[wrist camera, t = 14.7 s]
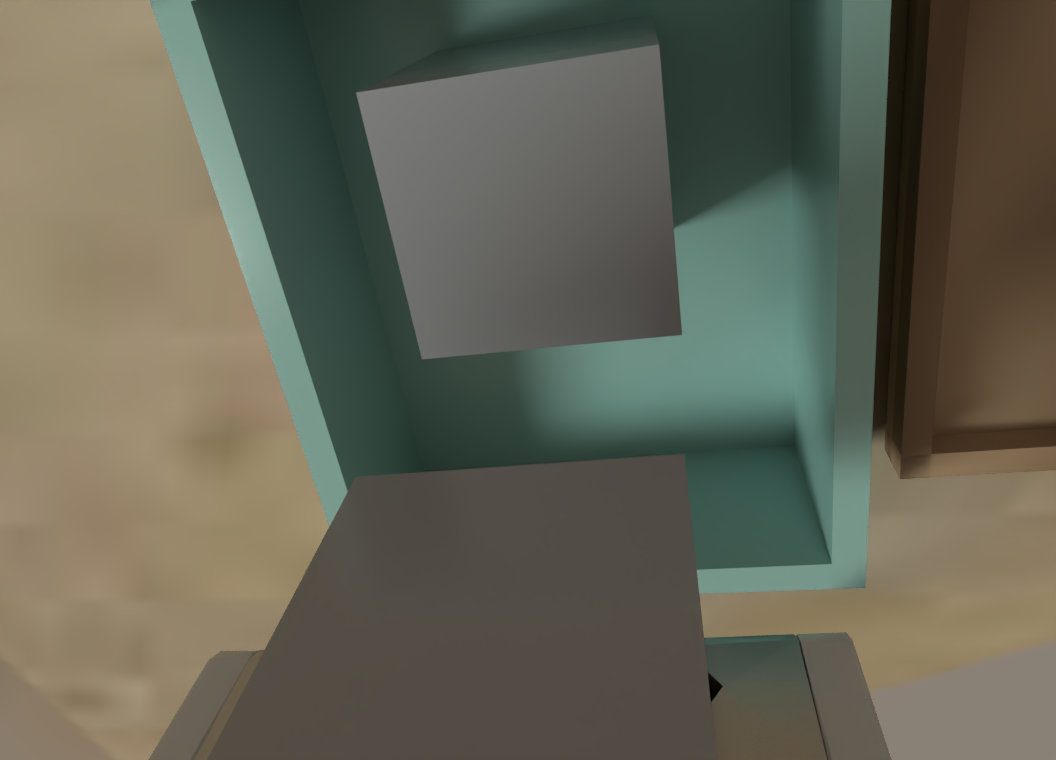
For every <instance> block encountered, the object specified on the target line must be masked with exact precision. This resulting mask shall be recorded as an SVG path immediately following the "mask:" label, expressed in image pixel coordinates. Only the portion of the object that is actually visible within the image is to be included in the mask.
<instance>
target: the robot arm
mask: <svg viewBox="0 0 1056 760" xmlns="http://www.w3.org/2000/svg"><path fill="white" fill-rule="evenodd" d="M704 643H705V653H706V662H707V671H708V681H709V690H710V700H711V709H712V718H713V728H714V737H715V746H716V756H717V760H891V757H890V754H889V751H888V748H887V745H886V742H885V739H884V736H883V733H882V729H881V726H880V723H879V720H878V718H877V714H876V712H875V708H874V705H873V702H872V699H871V696H870V693H869V690H868V687H867V683H866V680H865V677H864V674H863V671H862V668H861V665H860V662H859V659H858V656H857V653H856V650H855V647H854V644H853V641H852V639H851V638H850V637H849V636H848V634H847V633H846V632H845V633H819V634H797V636H795V635H794V634H791V635H766V636H742V637H717V638H704ZM263 652H264V650H259V651H220V652H219V653H218V654H216V655H215V656H214V657H212V658H211V659H209V661H208V662H207V664H206V665H205V667H204V669H203V670H202V672H201V674H200V675H199V677H198V679H197V680H196V682H195V683H194V685H193V687H192V688H191V690H190V692H189V693H188V695H187V697H186V698H185V700H184V702H183V703H182V705H181V707H180V708H179V710H178V712H177V713H176V715H175V717H174V718H173V720H172V722H171V723H170V725H169V727H168V728H167V730H166V732H165V733H164V735H163V736H162V738H161V740H160V741H159V743H158V745H157V746H156V748H155V750H154V751H153V753H152V755H151V756H150V758H149V760H207V759H208V757H209V755H210V753H211V751H212V749H213V748H214V746H215V744H216V742H217V740H218V738H219V736H220V734H221V732H222V730H223V728H224V727H225V725H226V723H227V721H228V719H229V717H230V715H231V713H232V711H233V709H234V708H235V706H236V704H237V702H238V700H239V698H240V696H241V694H242V692H243V690H244V689H245V687H246V685H247V683H248V681H249V679H250V677H251V675H252V673H253V671H254V669H255V668H256V666H257V664H258V662H259V660H260V658H261V656H262V654H263Z"/></svg>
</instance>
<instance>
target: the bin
mask: <svg viewBox="0 0 1056 760" xmlns="http://www.w3.org/2000/svg"><path fill="white" fill-rule="evenodd" d="M150 3H151V5H152V8H153V11H154V14H155V17H156V20H157V23H158V26H159V29H160V32H161V35H162V38H163V41H164V44H165V46H166V49H167V52H168V55H169V58H170V61H171V64H172V67H173V70H174V73H175V76H176V79H177V82H178V85H179V87H180V90H181V93H182V96H183V99H184V102H185V105H186V108H187V111H188V114H189V117H190V120H191V123H192V126H193V128H194V131H195V134H196V137H197V140H198V143H199V146H200V149H201V152H202V155H203V158H204V161H205V164H206V167H207V169H208V172H209V175H210V178H211V181H212V184H213V187H214V190H215V193H216V196H217V199H218V202H219V205H220V208H221V210H222V213H223V216H224V219H225V222H226V225H227V228H228V231H229V234H230V237H231V240H232V243H233V246H234V249H235V251H236V254H237V257H238V260H239V263H240V266H241V269H242V272H243V275H244V278H245V281H246V284H247V287H248V290H249V292H250V295H251V298H252V301H253V304H254V307H255V310H256V313H257V316H258V319H259V322H260V325H261V328H262V331H263V333H264V336H265V339H266V342H267V345H268V348H269V351H270V354H271V357H272V360H273V363H274V366H275V369H276V372H277V374H278V377H279V380H280V383H281V386H282V389H283V392H284V395H285V398H286V401H287V404H288V407H289V410H290V413H291V415H292V418H293V421H294V424H295V427H296V430H297V433H298V436H299V439H300V442H301V445H302V448H303V451H304V454H305V456H306V459H307V462H308V465H309V468H310V471H311V474H312V477H313V480H314V483H315V486H316V489H317V492H318V495H319V497H320V500H321V503H322V506H323V509H324V512H325V515H326V518H327V521H328V524H329V527H330V525H331V523H332V521H333V519H334V517H335V515H336V513H337V511H338V510H339V508H340V506H341V504H342V502H343V500H344V498H345V496H346V494H347V492H348V490H349V489H350V487H351V485H352V483H353V481H354V479H355V477H360V476H375V475H389V474H403V473H417V472H432V471H446V470H460V469H475V468H489V467H503V466H517V465H532V464H546V463H560V462H575V461H589V460H603V459H617V458H632V457H646V456H660V455H675V454H684V456H685V465H686V475H687V484H688V493H689V503H690V512H691V522H692V531H693V540H694V550H695V559H696V568H697V578H698V587H699V594H706V593H734V592H761V591H788V590H816V589H843V588H865V583H866V561H867V538H868V516H869V493H870V471H871V448H872V426H873V403H874V381H875V358H876V336H877V313H878V290H879V268H880V245H881V223H882V200H883V178H884V155H885V133H886V110H887V88H888V65H889V43H890V20H891V0H150ZM649 15H652V17H653V21H654V25H655V29H656V33H657V37H658V41H659V48H660V60H661V73H662V86H663V98H664V111H665V124H666V136H667V149H668V162H669V174H670V187H671V200H672V212H673V225H674V237H675V250H676V263H677V275H678V288H679V301H680V313H681V326H682V335H677V336H666V337H655V338H645V339H634V340H624V341H613V342H602V343H592V344H581V345H571V346H560V347H549V348H539V349H528V350H517V351H507V352H496V353H486V354H475V355H464V356H454V357H443V358H433V359H422V358H421V354H420V350H419V346H418V342H417V338H416V334H415V330H414V325H413V321H412V317H411V313H410V309H409V305H408V301H407V297H406V293H405V289H404V285H403V281H402V277H401V273H400V269H399V265H398V261H397V257H396V253H395V248H394V244H393V240H392V236H391V232H390V228H389V224H388V220H387V216H386V212H385V208H384V204H383V200H382V196H381V192H380V188H379V184H378V180H377V176H376V171H375V167H374V163H373V159H372V155H371V151H370V147H369V143H368V139H367V135H366V131H365V127H364V123H363V119H362V115H361V111H360V107H359V103H358V99H357V94H356V92H358V91H360V90H362V89H364V88H366V87H368V86H370V85H372V84H374V83H376V82H378V81H379V80H381V79H383V78H385V77H387V76H389V75H391V74H393V73H395V72H397V71H399V70H401V69H403V68H405V67H407V66H408V65H410V64H412V63H414V62H416V61H418V60H420V59H422V58H424V57H426V56H428V55H430V54H432V53H434V52H436V51H438V50H444V49H450V48H456V47H462V46H468V45H474V44H480V43H486V42H492V41H498V40H504V39H510V38H516V37H522V36H528V35H534V34H540V33H546V32H552V31H558V30H564V29H570V28H577V27H583V26H589V25H595V24H601V23H607V22H613V21H619V20H625V19H631V18H637V17H643V16H649Z"/></svg>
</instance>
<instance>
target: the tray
mask: <svg viewBox="0 0 1056 760" xmlns="http://www.w3.org/2000/svg"><path fill="white" fill-rule="evenodd" d="M885 450H886V452H887V454H888V456H889V458H890V460H891V462H892V464H893V466H894V468H895V470H896V472H897V474H898V476H899V478H900V479H909V478H926V477H943V476H960V475H977V474H994V473H1011V472H1028V471H1045V470H1056V0H909V4H908V23H907V41H906V60H905V79H904V97H903V116H902V135H901V154H900V172H899V191H898V210H897V229H896V247H895V266H894V285H893V304H892V322H891V341H890V360H889V379H888V397H887V416H886V435H885Z"/></svg>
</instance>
